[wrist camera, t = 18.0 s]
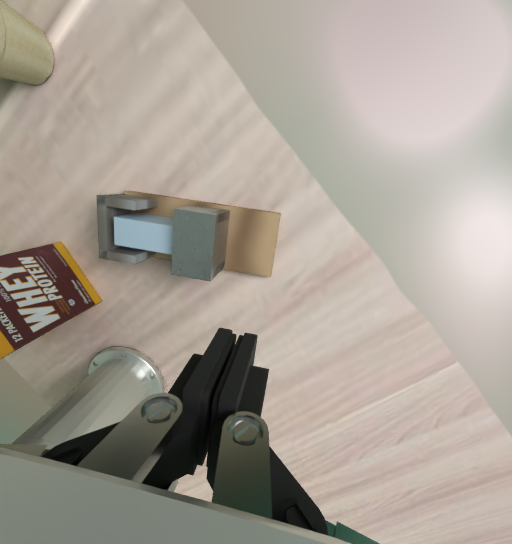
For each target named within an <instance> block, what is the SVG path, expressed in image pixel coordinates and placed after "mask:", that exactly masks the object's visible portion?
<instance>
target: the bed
mask: <svg viewBox="0 0 512 544" xmlns="http://www.w3.org/2000/svg"><path fill="white" fill-rule="evenodd" d="M191 205H198V206H205V207H211V208H218V209H225V210H230V216H229V226H228V236H227V246H226V256H225V266H224V268H223V269H226V270H232V271H237V272H243V273H249V274H255V275H260V276H266V277H271V274H272V268H273V261H274V255H275V248H276V242H277V235H278V229H279V222H280V216H281V213H276V212H270V211H263V210H256V209H249V208H243V207H236V206H229V205H222V204H216V203H209V202H202V201H195V200H189V199H182V198H175V197H168V196H162V195H155V194H148V193H141V192H135V191H124V194H115V195H97V213H98V236H99V258H103V259H108V260H114V261H120V262H125V263H131V264H137V263H139V262H141V261H143V260H145V259H147V258H150V257H157V258H163V259H168V260H172V255H171V254H166V253H160V252H154V251H148V250H143V249H137V248H131V247H125V246H119V245H115V243H114V217H116V216H122V215H128V214H134V213H143V214H149V215H155V216H162V217H168V218H174V208H180V207H185V206H191Z"/></svg>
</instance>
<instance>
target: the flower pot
mask: <svg viewBox="0 0 512 544" xmlns="http://www.w3.org/2000/svg"><path fill="white" fill-rule="evenodd" d="M53 67H54V54H53V50H52V46H51V44H50V42H49V41H48V39H47V38H46V36H45V35H44V33H43V32H42V31H41V30H40V29H39V28H38V27H37V26H35V25H34V24H33V23H31V22H30V21H29V20H27V19H26V18H25V17H24V16H22V15H21V14H20V13H18V12H17V11H16V10H15V9H13V8H12V7H11V6H9V5H8V4H7V3H6V2H4V1H3V0H0V78H3V79H8V80H13V81H18V82H23V83H27V84H31V85H39V84H42V83H44V81H45V80H46V78H47V77H48V76H50V75H51V73H52V71H53Z"/></svg>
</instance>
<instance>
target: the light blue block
mask: <svg viewBox="0 0 512 544" xmlns="http://www.w3.org/2000/svg"><path fill="white" fill-rule="evenodd" d="M173 219H174V218H168V217H162V216H155V215H149V214H143V213H134V214H128V215H122V216H116V217H114V243H115V245H119V246H125V247H131V248H137V249H143V250H148V251H154V252H160V253H166V254H171V255H172V245H173Z"/></svg>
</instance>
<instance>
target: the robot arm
mask: <svg viewBox="0 0 512 544" xmlns="http://www.w3.org/2000/svg"><path fill="white" fill-rule="evenodd" d="M235 342H236V334H232V330H229V329H224V328H219V329H218V331H217V333H216V334H215V336H214V338H213V339H212V341H211V343H210V345H209V346H208V348H207V350H206V351H205V353H204V355H199V354H193V356H192V357H191V358H190V360H189V361H188V363H187V365H186V366H185V368H184V369H183V371H182V372H181V374H180V375H179V377H178V378H177V380H176V381H175V383H174V384H173V386H172V388H171V389H170V391H169V392H168V393H163V389H164V386H163V380H162V377H161V375H160V373H159V371H158V369H157V368H156V366H155V365H154V364H153V363H152V362H151V361H150V360H149V359H148V358H147V357H146V356H144V355H143V354H141V353H140V352H137V351H135V350H133V349H130V348H126V347H111V348H108V349H105V350H103V351H102V352H100V353H99V354H98V355H97V356H95V357H94V358H93V360H92V361H91V363H90V366H89V370H88V377H87V378H85V379H84V380H83V381H82V382H81V383H80V384H79V385H77V386H76V387H75V388H74V389H73V390H72V391H71V392H70V393H68V394H67V395H66V396H65V397H64V398H63V399H62V400H61V401H59V402H58V403H57V404H56V405H55V406H54V407H53V408H52V409H51V410H49V411H48V412H47V413H46V414H45V415H44V416H43V417H41V418H40V419H39V420H38V421H37V422H36V423H35V424H34V425H32V426H31V427H30V428H29V429H28V430H27V431H26V432H24V433H23V434H22V435H21V436H20V437H19V438H18V439H16V441H14V442H13V443H12V444H0V544H379V543H378V542H376V541H374V540H372V539H370V538H368V537H366V536H364V535H362V534H360V533H359V532H357V531H355V530H353V529H351V528H349V527H347V526H345V525H343V524H341V523H339V522H338V521H337V523H336V525H334V524H332V523H330V522H328V521H326V520H325V519H324V516H323V515H322V513H321V512H320V510H319V508H318V507H317V506H316V504H315V503H314V502H313V501H312V499H311V498H310V497H309V496H308V494H307V493H306V492H305V491H304V489H303V488H302V487H301V486H300V484H299V483H298V482H297V480H296V479H295V478H294V477H293V475H292V474H291V473H290V472H289V470H288V469H287V468H286V467H285V465H284V464H283V463H282V461H281V460H280V459H279V458H278V456H277V455H276V454H275V453H274V451H273V450H272V449H271V448H270V446H269V431H268V426H267V424H266V423H265V421H264V420H263V419H262V418H261V412H262V407H263V401H264V396H265V390H266V384H267V378H268V372H269V369H266V368H261V367H256V366H253V363H254V357H255V350H256V343H257V335H255V334H249V333H245V334H244V336H242V335H239V337H238V340H237V342H236V345H235ZM207 452H208V455H207ZM206 455H207V465H206V466H207V467H208V470H207V480H208V482H209V484H210V486H211V488H212V490H213V496H212V503H211V502H208V501H204V500H201V499H197V498H193V497H189V496H186V495H182V494H178V493H175V492H174V490H175V488H176V486H177V483H178V479H179V478H181V477H183V476H184V475H186V474H190V475H193V474H194V472H195V469H196V467H197V465H201V466H202V465H203V463H204V460H205V457H206Z"/></svg>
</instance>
